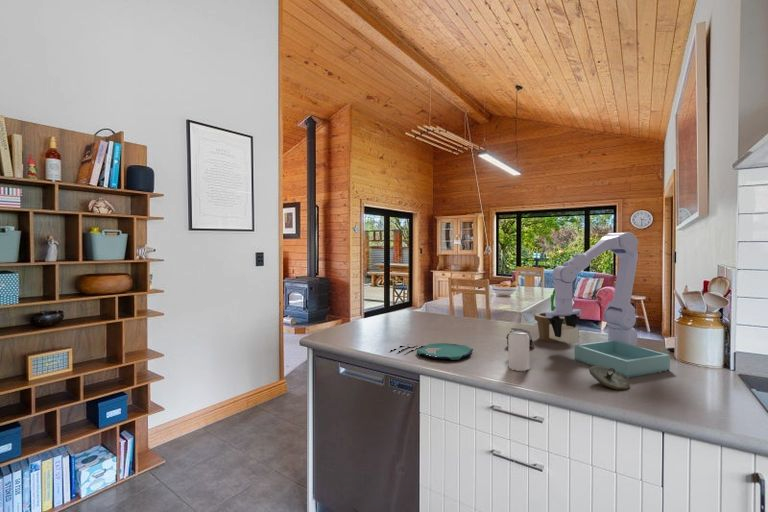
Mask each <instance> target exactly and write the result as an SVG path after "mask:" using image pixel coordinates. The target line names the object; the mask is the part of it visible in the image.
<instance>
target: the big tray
mask: <svg viewBox="0 0 768 512" xmlns="http://www.w3.org/2000/svg"><path fill="white" fill-rule="evenodd" d="M574 360H575V361H578V362H581V363H584V364H587V365H589V366H591V367H592V366H602V367H606V368H609V369H610V368H614V369H615V371H616V372H618V373H619V374H621V375H622V376H623V377H624V378H625V379H629V378H635V377H639V376H640V377H642V376H647V375H654V374H658V373H657V372H659V373H663V372H662V371H665V372H668V371H667V370H670V371H671V367H670V366H671V354H669V353H668V354H667V353H665V352H664V353H663V352H661V351H660V352H659V351H656V350H652V349H650V348H649V349H648V348H646V347H645V348H644V347H643V346H642V347H641V346H638V345H637V346H634V345H630V344H626V343H623V342H619V341H615V340H611V341H608V340H605V341H596V342H588V343H581V344H574ZM653 373H654V374H653Z"/></svg>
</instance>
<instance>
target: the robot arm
mask: <svg viewBox="0 0 768 512" xmlns="http://www.w3.org/2000/svg"><path fill="white" fill-rule="evenodd" d="M638 244H639V239H638V238H637V237H636V235H635V234H634V233H633V232H630V231H627V232H608V233H606V234H605V235H603V236H601V238H600V239H599V241H596V243H595V244H593V245H592V246H591V247H590V248H589V249H588V250H586V251H585V252H583V253H580V252H579V253H574V254H572V257H571V258H570V259H568V260H567V261H564V262H563V263H562V265H557V266H555V267H554V268H553V271H552V272H551V277H552V279H553V281H554V282H553V283H554V288H555V296H554V306H555V309H554V310H553V311H551V310H550V311H545V312H546V317H547V318H548V320H549V321H550V323H551V325H552V327H553V330H554V334H555V336H556V337H561V327H562V323H563V319H560V318H559V317H562V316H564V318H565V321H566V325H568V326H572V327H576V328H577V324H578V323H579V321H580V319H581V316H582V314H583V313H582V309H580V308H573V282H574V281H575V279H576V278H577V275H579V273H581V272H582V271H584V270H586V269H587V268H588V267H589V266H590V264H591V261H593V260H594V259H595V258H597V257H599V256H600V255H602V254H603V253H605V252H607V251H611V252H612V253H614V255H616V256H617V257H618V258H619V263H618V269H617V274H616V275H617V276H616V279H615V280H616V281H615V287H614V290H613V291H614V293H613V299H612V300H611V301H608V303H607V306H606V309H605V310H604V312H603V320H604V322H606V326H607V341H611V340H615V341H619V342H623V343H626V344H630V345H634V346H638V332H637V330H636V329H635V327H634V326H635V324H636V321H637V318H636V317H637V316H636V308H635V307H634V306H633V304H632V303H631V299H632V293H633V288H634V283H635V277H636V270H637V265H638V259H639V254H638V253H639V252H638Z"/></svg>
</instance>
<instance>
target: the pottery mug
mask: <svg viewBox="0 0 768 512" xmlns="http://www.w3.org/2000/svg"><path fill="white" fill-rule="evenodd" d="M518 328H519V327H518ZM519 329H521V328H519ZM509 334H510V332H508V333H507V334H506V337H505V338H506V340H507V341H506V345H508V336H509ZM530 347H531V349H532V350H534V349H535V346H534V341H533V338H532V339H531V340H530Z"/></svg>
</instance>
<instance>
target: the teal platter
mask: <svg viewBox="0 0 768 512" xmlns="http://www.w3.org/2000/svg"><path fill="white" fill-rule="evenodd" d="M427 348H441V349H439V350H436V354H434V353H428V352H427V351H426V350H425V349H427ZM473 350H474V349H473V348H472V347H471V346H468V345H466V344H465V345H464V344H463V345H462V344H456V343H447V342H438V343H429V344H426V345H423V346H422V347H420V348H418V349H416V354H417V353H418V354H419V355H422V356H425V357H429V358H432V359H433V358H434V359H440V360H441V359H443V360H445V359H446V360H451V361H455V360H460V359H461V358H465V357H468V356H470V355H471V354H472V353H473ZM418 354H417V355H418ZM426 354H428V355H426ZM429 355H431V356H429ZM435 356H437V357H435Z"/></svg>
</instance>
